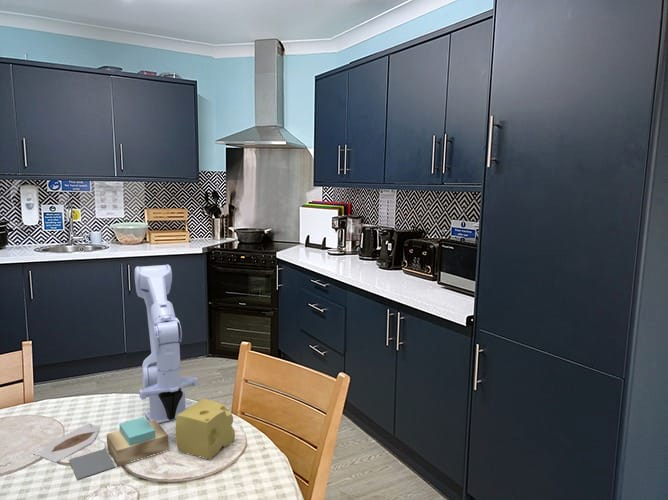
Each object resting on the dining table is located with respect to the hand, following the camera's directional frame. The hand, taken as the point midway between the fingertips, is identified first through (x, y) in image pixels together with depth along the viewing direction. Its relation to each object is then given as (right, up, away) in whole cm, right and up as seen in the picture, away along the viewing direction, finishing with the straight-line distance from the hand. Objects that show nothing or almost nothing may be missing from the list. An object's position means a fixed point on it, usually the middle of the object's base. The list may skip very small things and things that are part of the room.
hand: (170, 418), depth 124 cm
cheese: (+10, -7, -3) cm, 12 cm away
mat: (-15, -7, -11) cm, 20 cm away
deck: (-7, -6, -4) cm, 10 cm away
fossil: (-25, -7, -1) cm, 26 cm away
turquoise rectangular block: (-7, -2, -5) cm, 9 cm away
